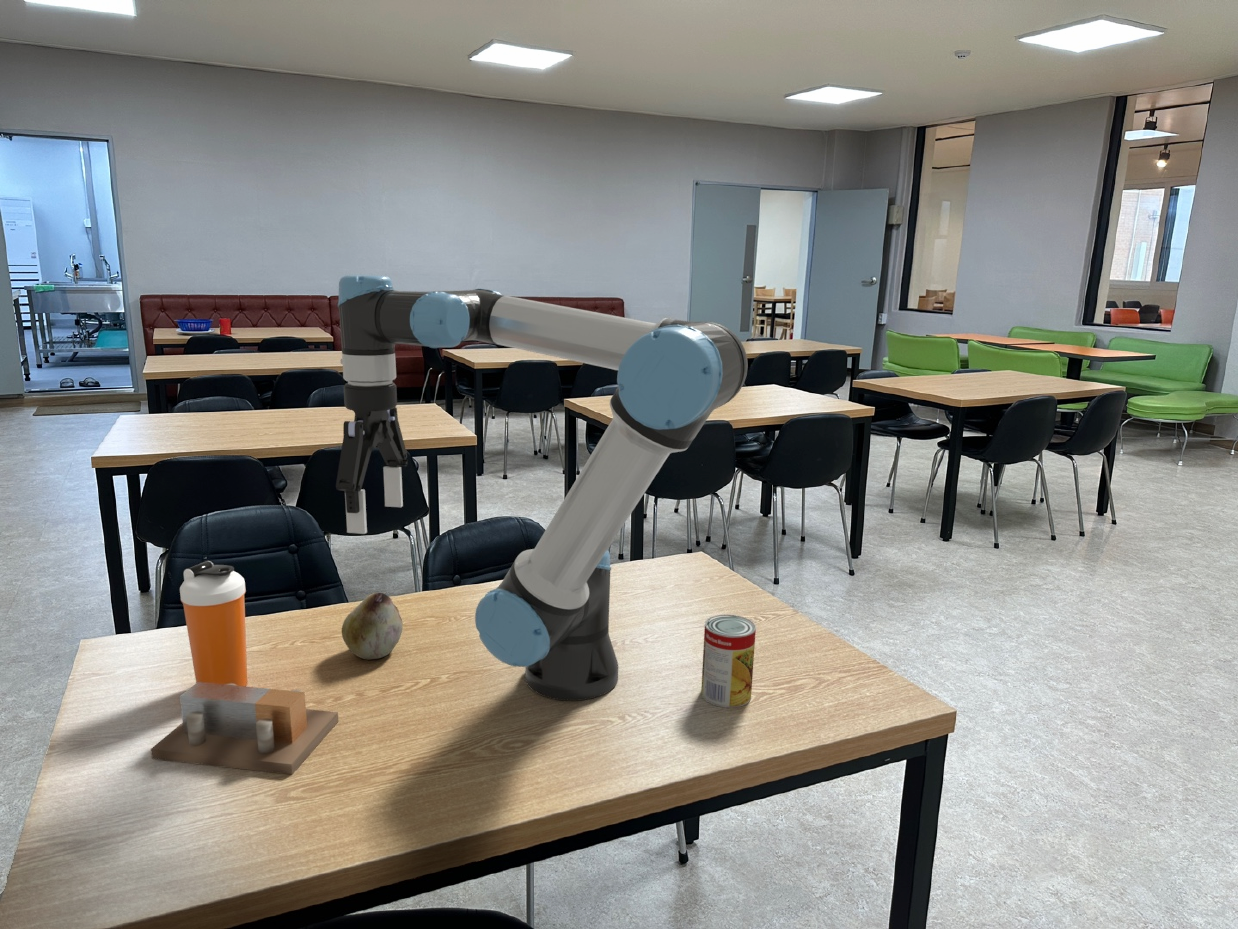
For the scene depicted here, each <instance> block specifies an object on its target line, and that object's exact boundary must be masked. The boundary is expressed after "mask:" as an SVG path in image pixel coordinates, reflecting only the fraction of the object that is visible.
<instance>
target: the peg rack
mask: <svg viewBox="0 0 1238 929" xmlns="http://www.w3.org/2000/svg"><path fill="white" fill-rule="evenodd" d="M226 685H235V686H237V685H236V684H234V683H230V684H226ZM291 691H297V692H303V691H302V690H301V689H291ZM186 718H187V727H188V732H184V729H183V722H181V723H179V725H178V726H177V727H176V728H174V729H173V730H172V731H170V732H169V733H168V734H167V735H166V736H165V737H164V738H163V737H162V739H161V740H160V741H158V742H157V743H156V744H155V745H154V746H153V747H151V748H150V752H151V753H150V755H151V759H152V760H158V761H167V762H168V761H169V762H177V763H187V764H193V765H194V764H195V765H196V764H197V765H202V766H203V765H204V766H205V765H206V766H212V767H213V766H214V767H223V768H232V769H240V770H249V771H258V772H268V773H276V774H286V775H293V774H294V773H296V771H297V769H299V767H300V766H301V765H302V764H303V763H305V760H306V759H307V758H309V756H310V755H311V753H313V751H315V749H316V748H317V747H318V746H319V745H320V743H321V742H322V741H323V740H324V739H325V737H326V736H327V735H328V734H329V733H330V732H331V730H333V729H334V727H335V726H336V725H337V724H338V723H339V713H338V711H330V710H321V709H320V710H318V709H310V708H306V718H307V728H306V729H305V731H304V732H303V733H302V734H301V735H300V736H299V737H298V738H297V739H296V740H295V741H294V742H293V744H292V743H283V742H274V734H273V723H272V720H271V719H268V718H266V719H261V720H259V721H258V722H257V723H256V729H257V740H255V739H245V738H236V737H226V736H217V735H207V734H205V728H204V718H203V713H202V712H199V711H197V712H192V713H190V714H188V715H187V716H186Z"/></svg>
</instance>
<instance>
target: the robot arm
mask: <svg viewBox="0 0 1238 929" xmlns="http://www.w3.org/2000/svg"><path fill="white" fill-rule="evenodd" d="M337 308H338V315H339V328H340V339H341V357H342V358H340V361H339V362H340V364H341V365H342V377H343V380H344V381H346V383H344V385H343V400H344V407H345V408H346V409H347V410H348V411H353V412H354V420H353V421H352V420H351V421H350V420H344V422H343V436H342V437H343V438H342V445H341V451H340V457H339V463H338V469H337V470H338V471H337V474H336V475H337V477H336V480H335V481H336V482H335V488H336V490H337V491H344V499H345V500H344V501H345V515H346V516H345V517H346V519H345V520H346V533H348V534H361V535H365V534H367V533H368V527H367V525H368V524H367V510H366V509H367V507H366V506H367V504H366V490H365V489H364V488H363V484H364V481H365V476H366V473H367V471H368V470H367V469H368V464H369V462H370V457H371V454H372V452H373V451H375V450H376V447H377V448H378V451H379V453H380V454H381V457H382V459H383V461H384V462H385V464H386V466H383V467H382V469H383V487H384V488H383V489H384V507H387V508H388V507H391V508H402V507H404V502H403V500H404V498H403V479H402V478H403V476H402V474H403V473H402V467H407V466H408V459H407V458H408V453H407V449H406V445H405V441H404V437H403V435H402V434H403V433H402V431H401V426H400V423H399V418H398V408H397V405H398V397H397V396H398V393H397V385H396V384H395V382H394V381H395V380H396V378H397V367H396V366H397V365H396V364H397V362H396V352H395V351H396V347H395V346H396V344H400V345H409V346H420V347H429V348H431V349H438V348H454V347H457V346H459V345H460V344H461V342H466V341H477V342H483V343H488V344H492V345H493V344H494V345H498V346H504V347H507V348H511V349H512V348H513V349H516V350H517V349H518V350H521V351H522V350H523V351H527V352H532V353H536V354H541V355H545V356H550V357H555V358H559V359H563V360H568V361H573V362H577V363H583V364H587V365H591V366H596V367H601V368H606V369H611V370H614V371H617V378H616V384H617V388H616V390H615V391H614V393H613V394H612V396H611V398H610V399H609V408H610V411H611V413H612V417H613V418H612V420H611V421H610V423H609V424H608V426H607V428H606V429H605V431H604V433H603V434H602V436H601V438H600V439H599V441H598V442H597V444H596V446H595V448H594V449H593V451H592V453H591V454H590V456H589V458H588V459H587V461H586V462H585V464H584V466H583V468H582V469H581V470H580V472H579V474H578V476H577V478H576V479H575V481H574V483H573V484H572V486H571V488H570V489H569V490H568V492H567V494H566V496H565V497H564V499H563V500H562V502H561V504H560V506H559V507H558V509H557V510H556V513H555V514H554V516H553V518H552V519H551V521H550V523H549V524H548V525H547V527H546V528H545V531H544V532H543V534H542V535H541V537H540V539H539V541H538V542H537V544H536V546H535V547H534V548H532V549H531V548H530V549H526V550H523V551H521V552H520V553H519V554H518V555H517V557H516V558H515V560H514V562H513V563H512V565H511V567H510V568H509V570H507V571H508V572H506V575H505V576H504V577H503V580H502V581H501V582H500V584H498V586H497V587H496V588H495V589H492V590H491V589H490V590H489V591H488V592H486V593H485V595H484V596H483V597H482V598H481V599H480V601H479V602H478V603H477V606H476V609H475V614H474V621H475V628H476V630H477V631H478V633H479V635H478V636H479V638H480V640H481V643H482V644H483V645H484V647H485V648H486V649H487V651H488V652H489V653H490V654H491V655H492V656H493V657H494V658H495V659H497V660H498V661H500V662H502V663H503V664H506V665H507V666H508V665H509V666H512V667H523V668H525V682H526V684H527V686H528V687H529V688H530V689H531V690H532V691H533V692H535V693H536V694H538V695H541V696H543V697H546V698H550V699H554V700H562V701H584V700H589V699H593V698H599V697H600V696H604V695H605V694H607V693H609V692H610V691H611V690H612V689H614V688H615V686H616V685H617V684H618V682H619V681H618V680H619V662H618V659H617V656H616V653H615V649H614V647H613V642H612V640H611V637H610V633H609V632H610V630H609V629H610V628H609V627H610V626H609V625H610V600H611V599H610V597H611V596H610V594H611V593H610V592H611V591H610V590H611V589H610V588H611V571H612V567H611V556H610V552H609V548H610V547H611V545H612V543H613V542H614V540H615V539H616V538H617V536H618V534H619V533H620V531H621V529H622V528H623V526H624V525H625V523H626V522H627V521H628V519H629V518H630V516H631V515H632V513H633V511H634V510H635V509H636V506H637V505H638V504H639V502H640V501H641V499H642V497H643V496H644V494H645V493H646V492H647V490H648V488H649V487H650V485H651V484H652V482H653V480H654V479H655V477H656V475H657V474H658V473H659V472H660V470H661V468H662V467H663V465H664V463H665V462H666V460H667V459H668V457H669V456H670V454H672V453H678V452H679V453H681V452H684V451H686V450H687V449H688V448H690V446H691V444H692V442H693V441H694V440H695V438H696V437H697V435H698V433H699V432H700V431H701V429H702V427H703V426H704V425H705V423H706V421H707V420H708V419H709V417H710V415H711V414H712V413H713V412H714V410H716V409H719V408H720V407H723V406H725V405H726V404H728V403H729V402H731V401H732V400H733V399H734V398H735V397H736V396H737V395H738V394H739V393H740V391H741V390H742V387H743V386H744V384H745V381H746V378H747V375H748V368H749V367H748V356H747V352H746V349H745V347H744V344H743V343H742V341H741V339H740V338H739V337H738V336H737V334H735V333H734V332H733V331H732V330H731V329H729V328H727V327H726V326H724V325H723V324H719V323H716V322H712V321H691V320H682V319H675V318H670V317H664V318H662V319H661V320H659V321H658V322H656V323H655V322H650V321H643V320H639V319H635V318H628V317H623V316H617V315H612V314H608V313H601V312H596V311H591V310H586V309H581V308H575V307H570V306H564V305H558V304H553V303H549V302H548V303H547V302H542V301H537V300H532V299H526V298H521V297H517V296H516V297H515V296H510V295H503V294H502V293H500V292H499V291H496V290H495V289H493V290H492V289H486V288H475V289H470V290H469V289H466V290H438V291H436V290H435V291H406V290H405V291H404V290H403V291H400V290H394V288H393V281H392V278H391V277H389V276H387V275H375V274H374V275H372V274H371V275H370V274H369V275H368V274H364V275H363V274H362V275H361V274H358V275H357V274H354V275H353V274H352V275H351V274H349V275H344V276H342V277H341V278H340V279H339V281H338V303H337ZM362 488H363V489H362Z"/></svg>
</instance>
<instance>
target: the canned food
mask: <svg viewBox="0 0 1238 929" xmlns="http://www.w3.org/2000/svg"><path fill="white" fill-rule="evenodd" d="M756 630H757V627H756V624H755V623H754V622H753V621H752V620H751V619H749V618H747V617H743V616H740V615H735V614H716V615H713V616H710V617H709V618H707V619H706V620H705V622H704V632H703V650H702V653H703V654H702V668H701V669H702V671H701V690H700V695H701V697H702V698H703V699H704V701H706V702H707V703H709V704H711V705H714V706H717V707H721V708H727V709H730V708H731V709H732V708H740V707H742V706H743V707H744V706H746V705H747V704H748V703H750V701H751V699H752V690H753V689H752V687H753V676H754V660H755V647H756V646H755V644H756Z"/></svg>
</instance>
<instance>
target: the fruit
mask: <svg viewBox="0 0 1238 929" xmlns="http://www.w3.org/2000/svg"><path fill="white" fill-rule="evenodd" d="M403 623H404V622H403V619H402V617H401V615H400V610H399V608H398V607H397V606H396V605H395V604H394V602H393V600H392V598H391V597H390V596H389V595H387V594H386V593H384V592H374V593H371V594H369V595H368V596H366V597H365V598H364V599H362V601H361V602H360V603H359V604H358V605H357V606H356V607H355V608H354V609H353V610H351V611H350V612H349V613H348V614H347V616H346V617H345V619H344V620H343V623H342V626H341V637H342V639H343V641H344V643H345V645H346V647H347V648H348V650H350V652H351V653H352V654H354V655H355V656H356V657H358V658H361V659H363V660H376V659H381V658H383V657H386V656H387V655H389V654H390V653H392V651H393V650H394V648H395V647H396V645H397V644H398V643H399V641H400V639H401V636H402V633H403V625H404V624H403Z"/></svg>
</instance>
